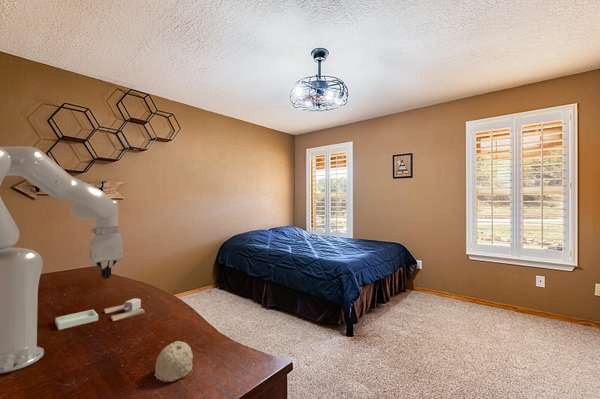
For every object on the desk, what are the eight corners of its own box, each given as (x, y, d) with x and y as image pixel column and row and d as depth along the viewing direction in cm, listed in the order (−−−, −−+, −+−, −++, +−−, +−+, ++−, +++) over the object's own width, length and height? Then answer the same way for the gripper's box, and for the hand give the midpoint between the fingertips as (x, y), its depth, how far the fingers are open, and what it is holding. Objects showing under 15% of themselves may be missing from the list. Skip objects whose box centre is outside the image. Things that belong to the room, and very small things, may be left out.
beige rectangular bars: (144, 313, 116) (144, 310, 116) (113, 320, 108) (113, 318, 108) (133, 304, 126) (133, 302, 126) (103, 311, 118) (103, 308, 118)
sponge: (193, 384, 78) (201, 343, 83) (183, 382, 70) (192, 337, 76) (159, 384, 77) (168, 343, 83) (144, 382, 70) (156, 337, 75)
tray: (98, 320, 109) (98, 314, 109) (58, 329, 101) (58, 324, 101) (93, 314, 114) (93, 309, 114) (55, 323, 106) (55, 317, 106)
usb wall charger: (140, 308, 121) (140, 299, 121) (126, 314, 115) (126, 304, 115) (133, 307, 123) (133, 298, 123) (118, 313, 116) (118, 303, 116)
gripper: (85, 233, 105) (84, 283, 105) (131, 230, 116) (130, 276, 115) (81, 231, 110) (80, 279, 110) (125, 229, 121) (124, 273, 121)
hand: (106, 278), depth 113 cm, fingers closed
